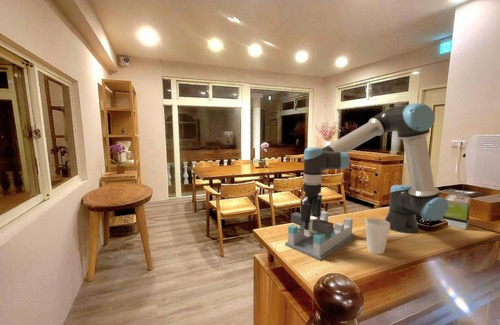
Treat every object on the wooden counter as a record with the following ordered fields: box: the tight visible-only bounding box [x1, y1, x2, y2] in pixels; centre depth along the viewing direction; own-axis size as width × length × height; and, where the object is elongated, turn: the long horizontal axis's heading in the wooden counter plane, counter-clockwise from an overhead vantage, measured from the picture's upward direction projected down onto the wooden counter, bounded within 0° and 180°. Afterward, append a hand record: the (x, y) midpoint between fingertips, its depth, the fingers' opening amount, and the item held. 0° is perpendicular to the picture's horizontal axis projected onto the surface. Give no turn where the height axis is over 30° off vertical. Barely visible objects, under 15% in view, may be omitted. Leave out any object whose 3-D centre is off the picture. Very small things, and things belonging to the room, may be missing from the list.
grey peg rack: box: [284, 210, 356, 262], centre depth 109 cm, size 18×32×9 cm, turn 132°
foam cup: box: [364, 217, 391, 255], centre depth 99 cm, size 10×9×13 cm
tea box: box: [442, 194, 472, 231], centre depth 127 cm, size 15×10×15 cm, turn 133°
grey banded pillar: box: [290, 212, 334, 235], centre depth 102 cm, size 19×5×5 cm, turn 42°
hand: (310, 234), depth 103 cm, fingers closed on grey banded pillar, 5 cm apart
